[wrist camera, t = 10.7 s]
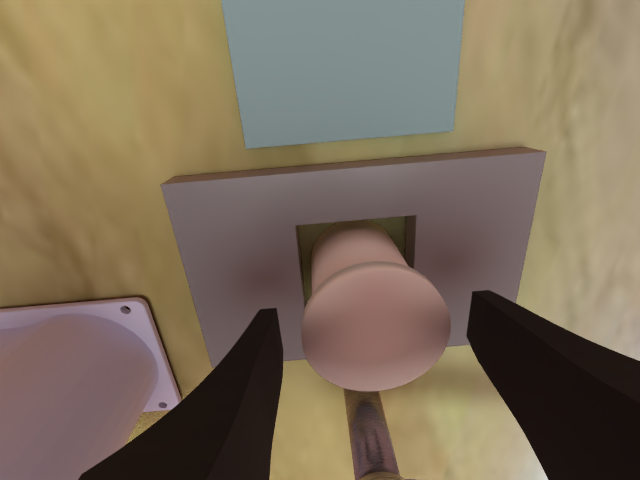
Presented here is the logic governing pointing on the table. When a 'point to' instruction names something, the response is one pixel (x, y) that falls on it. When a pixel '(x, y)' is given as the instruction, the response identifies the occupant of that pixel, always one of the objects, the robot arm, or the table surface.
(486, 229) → the socket block
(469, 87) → the table surface
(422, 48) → the mat
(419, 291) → the plug
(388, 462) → the clip post
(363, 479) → the clip
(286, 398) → the table surface
